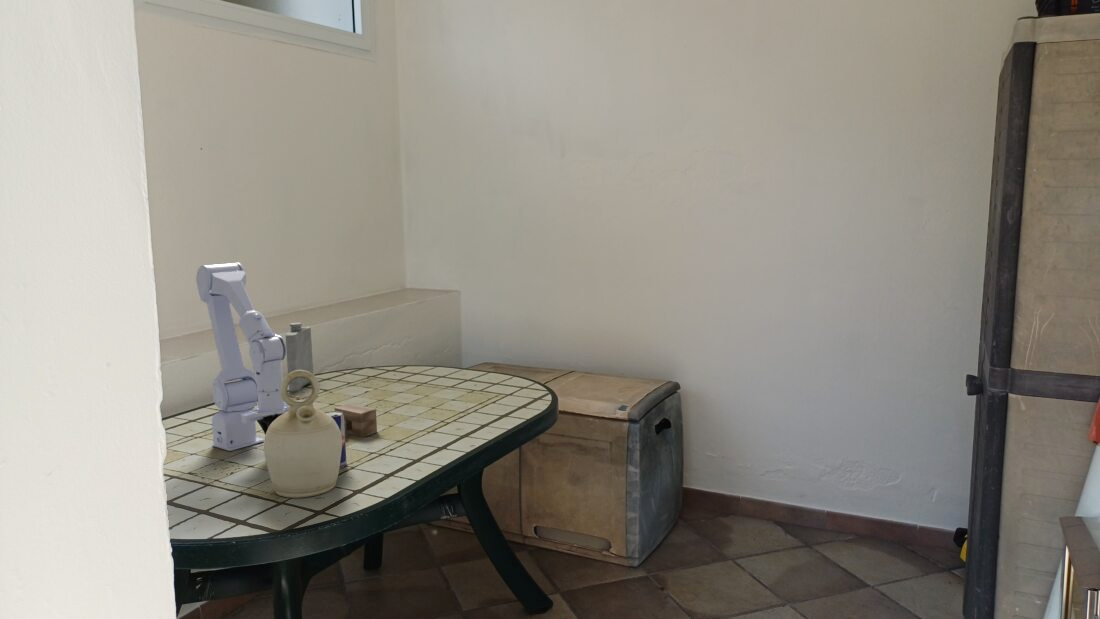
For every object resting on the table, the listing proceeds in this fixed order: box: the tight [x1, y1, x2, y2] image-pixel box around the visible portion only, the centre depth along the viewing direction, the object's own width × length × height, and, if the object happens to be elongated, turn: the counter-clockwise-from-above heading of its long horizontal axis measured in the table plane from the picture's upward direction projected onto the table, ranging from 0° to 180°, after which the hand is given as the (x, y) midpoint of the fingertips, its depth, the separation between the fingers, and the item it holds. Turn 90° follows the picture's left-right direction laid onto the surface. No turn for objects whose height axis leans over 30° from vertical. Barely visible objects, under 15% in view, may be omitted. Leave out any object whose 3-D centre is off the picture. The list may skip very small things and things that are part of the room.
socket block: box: [334, 403, 378, 438], centre depth 211 cm, size 5×10×6 cm, turn 53°
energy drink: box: [323, 410, 348, 470], centre depth 184 cm, size 5×5×12 cm
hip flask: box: [284, 322, 314, 392], centre depth 261 cm, size 16×4×20 cm, turn 177°
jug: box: [263, 370, 342, 499], centre depth 170 cm, size 15×16×25 cm
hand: (274, 446), depth 192 cm, fingers closed
